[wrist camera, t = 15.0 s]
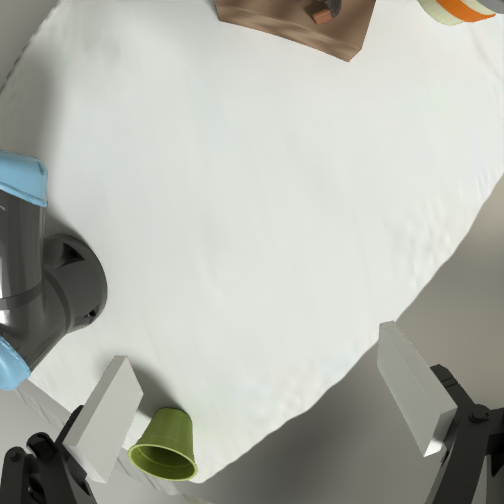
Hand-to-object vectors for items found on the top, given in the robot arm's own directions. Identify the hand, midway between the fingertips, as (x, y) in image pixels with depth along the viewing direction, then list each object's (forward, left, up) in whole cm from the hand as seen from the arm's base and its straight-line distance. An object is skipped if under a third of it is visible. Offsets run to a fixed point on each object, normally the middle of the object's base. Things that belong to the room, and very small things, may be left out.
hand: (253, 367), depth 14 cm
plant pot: (-20, -32, -27) cm, 46 cm away
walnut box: (+11, +32, -27) cm, 43 cm away
